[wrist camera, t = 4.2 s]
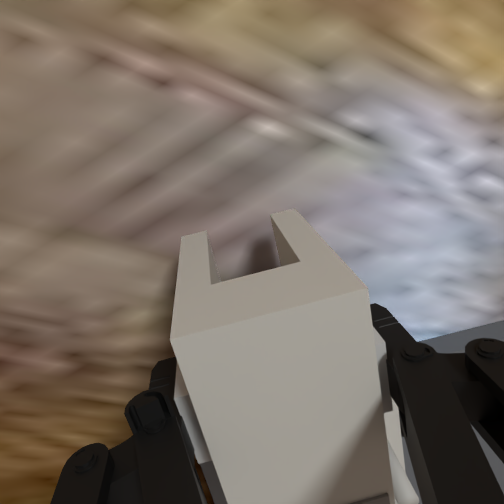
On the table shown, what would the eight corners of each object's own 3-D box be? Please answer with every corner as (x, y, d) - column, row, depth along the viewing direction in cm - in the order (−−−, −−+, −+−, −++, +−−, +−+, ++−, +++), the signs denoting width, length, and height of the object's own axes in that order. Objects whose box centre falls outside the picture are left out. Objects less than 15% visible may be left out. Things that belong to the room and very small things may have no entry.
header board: (241, 555, 28) (249, 669, 22) (185, 400, 23) (177, 496, 17) (517, 484, 28) (593, 579, 23) (522, 315, 23) (622, 383, 18)
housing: (226, 383, 20) (244, 553, 13) (181, 236, 17) (169, 341, 10) (322, 358, 20) (396, 508, 13) (294, 208, 17) (369, 289, 10)
